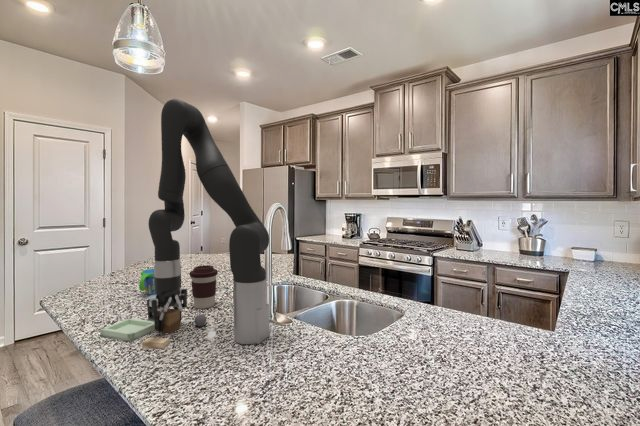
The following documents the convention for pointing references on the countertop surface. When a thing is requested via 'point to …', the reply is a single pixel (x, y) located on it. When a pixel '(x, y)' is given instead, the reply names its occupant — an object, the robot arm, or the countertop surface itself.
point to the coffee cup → (204, 286)
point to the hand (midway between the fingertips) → (168, 327)
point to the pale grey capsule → (151, 299)
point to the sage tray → (128, 329)
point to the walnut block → (171, 320)
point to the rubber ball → (200, 320)
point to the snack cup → (147, 282)
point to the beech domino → (155, 343)
